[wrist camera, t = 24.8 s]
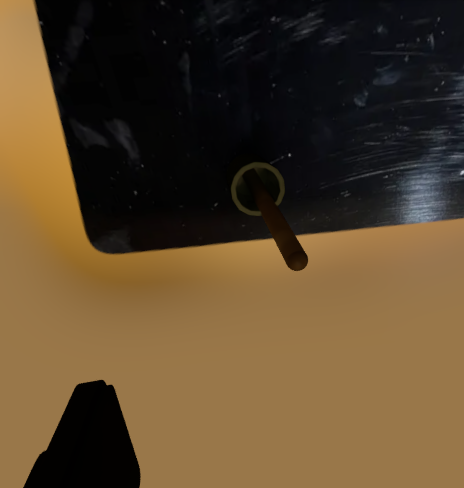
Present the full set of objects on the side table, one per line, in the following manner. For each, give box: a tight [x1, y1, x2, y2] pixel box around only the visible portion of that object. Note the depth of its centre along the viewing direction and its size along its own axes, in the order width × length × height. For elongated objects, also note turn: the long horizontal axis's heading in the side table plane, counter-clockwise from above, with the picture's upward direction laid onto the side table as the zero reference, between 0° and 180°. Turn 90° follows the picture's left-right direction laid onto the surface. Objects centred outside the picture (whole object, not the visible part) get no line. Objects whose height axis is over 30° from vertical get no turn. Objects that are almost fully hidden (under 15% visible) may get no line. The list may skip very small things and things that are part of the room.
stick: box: [242, 168, 308, 271], centre depth 30 cm, size 1×1×16 cm
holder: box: [226, 153, 285, 216], centre depth 34 cm, size 4×4×7 cm
